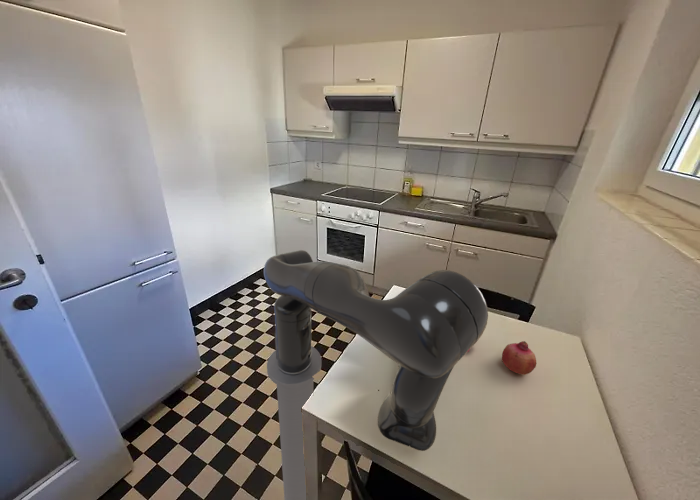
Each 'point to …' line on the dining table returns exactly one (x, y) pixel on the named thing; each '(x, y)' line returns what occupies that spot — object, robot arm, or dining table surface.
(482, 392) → the dining table surface
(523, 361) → the fruit
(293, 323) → the robot arm
